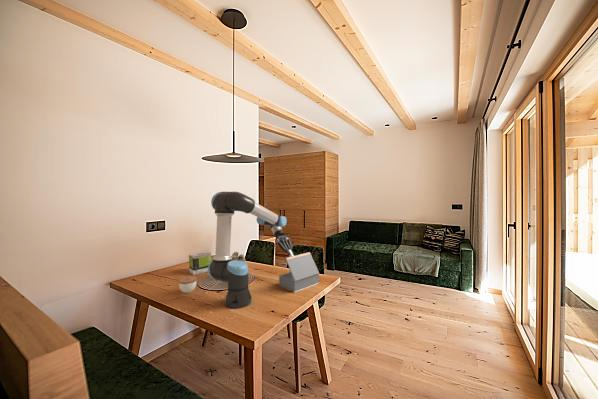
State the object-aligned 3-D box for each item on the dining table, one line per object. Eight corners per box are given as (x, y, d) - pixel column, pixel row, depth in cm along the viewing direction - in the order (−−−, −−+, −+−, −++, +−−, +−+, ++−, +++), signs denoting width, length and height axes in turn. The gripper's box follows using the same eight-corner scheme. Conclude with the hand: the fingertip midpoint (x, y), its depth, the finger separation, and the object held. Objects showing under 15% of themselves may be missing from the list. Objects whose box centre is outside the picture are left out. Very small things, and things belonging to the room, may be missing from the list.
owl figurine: (235, 277, 188) (234, 255, 188) (223, 275, 194) (222, 253, 193) (250, 270, 204) (250, 250, 203) (239, 268, 210) (239, 248, 209)
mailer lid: (294, 281, 159) (295, 281, 159) (285, 258, 166) (285, 257, 165) (318, 273, 174) (319, 272, 173) (309, 252, 180) (309, 251, 180)
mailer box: (294, 292, 160) (294, 281, 159) (279, 285, 172) (279, 275, 171) (318, 283, 174) (318, 273, 174) (303, 277, 186) (302, 268, 186)
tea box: (207, 268, 212) (207, 250, 212) (212, 271, 204) (211, 253, 204) (189, 272, 203) (188, 254, 202) (193, 275, 195) (192, 256, 194)
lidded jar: (200, 290, 166) (199, 276, 165) (185, 295, 157) (184, 281, 156) (190, 286, 172) (190, 273, 171) (175, 292, 163) (175, 277, 162)
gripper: (282, 233, 195) (297, 259, 184) (269, 236, 187) (283, 263, 175) (287, 227, 191) (302, 253, 179) (273, 229, 183) (288, 257, 171)
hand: (292, 258), depth 177 cm, fingers closed
